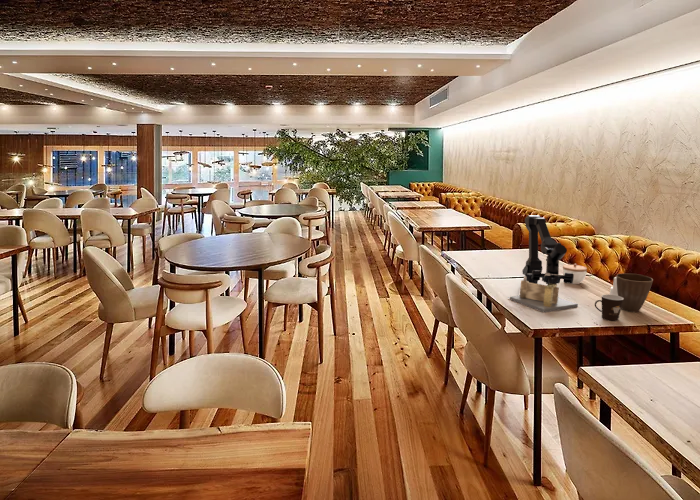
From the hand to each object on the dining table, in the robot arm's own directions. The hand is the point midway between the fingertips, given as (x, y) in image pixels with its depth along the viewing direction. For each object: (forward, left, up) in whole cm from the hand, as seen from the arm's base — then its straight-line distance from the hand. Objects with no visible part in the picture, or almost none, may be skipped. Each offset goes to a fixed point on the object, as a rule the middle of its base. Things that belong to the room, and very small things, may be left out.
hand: (551, 291), depth 230 cm
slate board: (-4, -1, -7) cm, 8 cm away
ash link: (-5, -4, -5) cm, 8 cm away
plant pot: (+20, +30, -7) cm, 37 cm away
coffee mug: (+24, +8, -7) cm, 26 cm away
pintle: (-11, -7, +3) cm, 13 cm away
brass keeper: (+2, -4, -7) cm, 8 cm away
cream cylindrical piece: (+7, +40, -7) cm, 41 cm away
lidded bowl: (-27, +47, -7) cm, 55 cm away
